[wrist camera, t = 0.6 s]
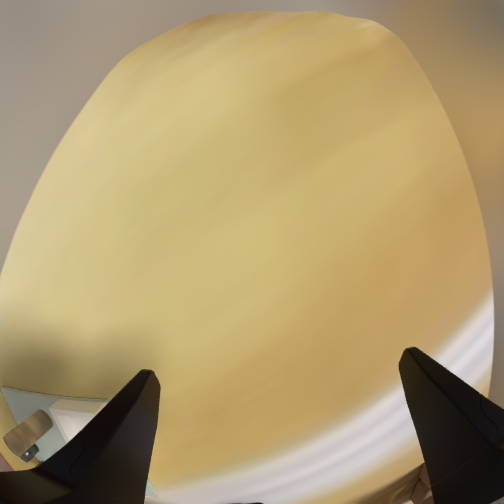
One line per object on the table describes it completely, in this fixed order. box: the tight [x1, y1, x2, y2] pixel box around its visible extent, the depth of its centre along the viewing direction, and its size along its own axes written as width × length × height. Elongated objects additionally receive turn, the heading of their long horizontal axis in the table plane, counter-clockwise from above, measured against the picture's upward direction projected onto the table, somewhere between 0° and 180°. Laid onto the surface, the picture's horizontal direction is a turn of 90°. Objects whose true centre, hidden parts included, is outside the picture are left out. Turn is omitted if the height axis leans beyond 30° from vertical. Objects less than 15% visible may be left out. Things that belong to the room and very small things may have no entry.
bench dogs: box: [20, 443, 44, 467], centre depth 19 cm, size 7×2×4 cm, turn 11°
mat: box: [1, 387, 158, 497], centre depth 21 cm, size 16×21×1 cm
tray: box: [49, 399, 106, 443], centre depth 20 cm, size 7×7×2 cm
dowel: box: [3, 409, 53, 457], centre depth 17 cm, size 3×3×8 cm
